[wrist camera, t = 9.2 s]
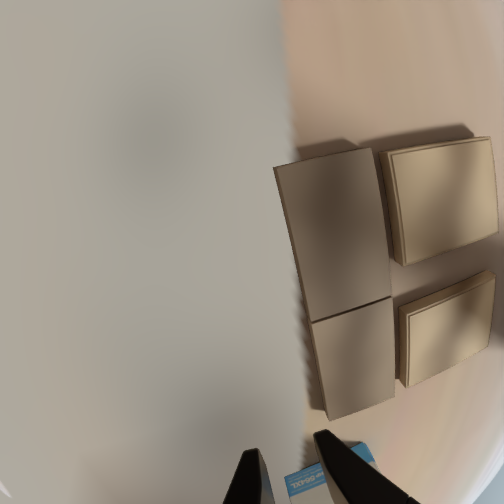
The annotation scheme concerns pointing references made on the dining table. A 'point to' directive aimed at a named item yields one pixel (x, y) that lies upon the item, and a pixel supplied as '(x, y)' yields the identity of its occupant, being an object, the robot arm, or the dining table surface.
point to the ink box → (318, 481)
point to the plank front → (440, 196)
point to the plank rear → (445, 328)
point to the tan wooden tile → (343, 275)
